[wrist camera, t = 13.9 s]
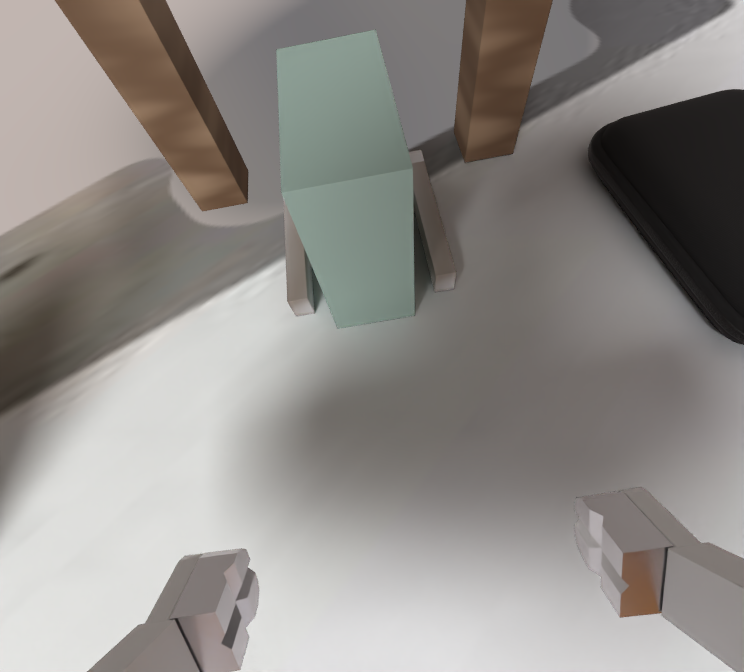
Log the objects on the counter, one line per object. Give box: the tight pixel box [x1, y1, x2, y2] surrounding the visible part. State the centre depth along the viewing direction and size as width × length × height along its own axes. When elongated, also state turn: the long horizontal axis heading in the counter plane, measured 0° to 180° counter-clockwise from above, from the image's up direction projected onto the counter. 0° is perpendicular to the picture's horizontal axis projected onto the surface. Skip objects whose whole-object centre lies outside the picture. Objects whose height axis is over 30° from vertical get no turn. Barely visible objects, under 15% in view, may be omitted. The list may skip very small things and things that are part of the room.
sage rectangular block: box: [276, 30, 415, 329], centre depth 17 cm, size 4×8×9 cm, turn 8°
